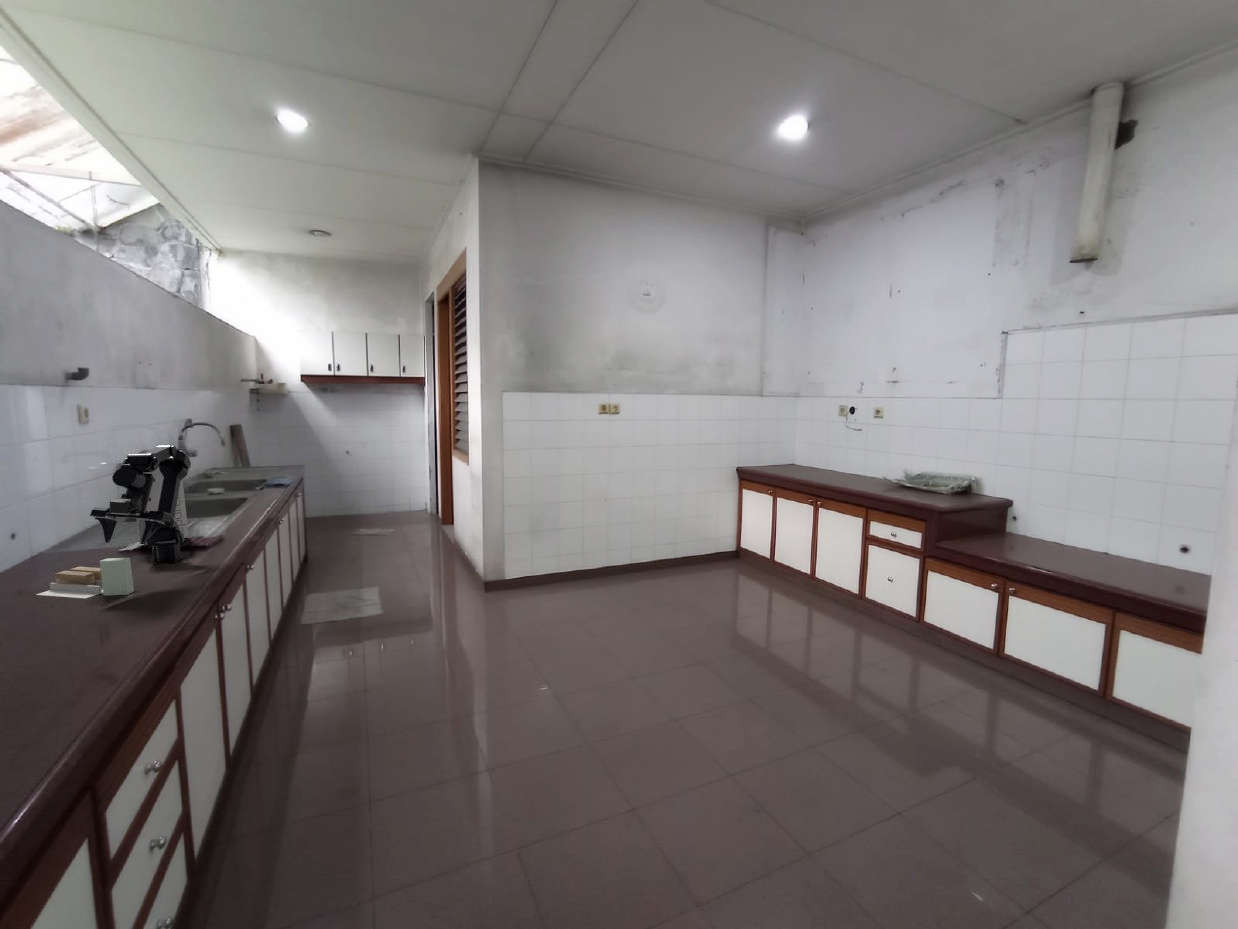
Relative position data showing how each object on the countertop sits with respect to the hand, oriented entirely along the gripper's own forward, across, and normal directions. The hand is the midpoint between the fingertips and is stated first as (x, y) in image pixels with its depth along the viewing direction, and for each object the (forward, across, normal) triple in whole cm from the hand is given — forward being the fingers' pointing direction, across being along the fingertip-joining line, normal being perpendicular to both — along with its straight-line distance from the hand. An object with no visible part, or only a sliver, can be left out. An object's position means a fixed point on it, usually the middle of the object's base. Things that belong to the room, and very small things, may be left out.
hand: (125, 543), depth 168 cm
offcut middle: (+14, -9, -1) cm, 16 cm away
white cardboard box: (-5, -12, +48) cm, 50 cm away
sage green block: (+16, +6, -8) cm, 18 cm away
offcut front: (+12, -7, +2) cm, 14 cm away
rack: (+15, -6, -1) cm, 16 cm away
